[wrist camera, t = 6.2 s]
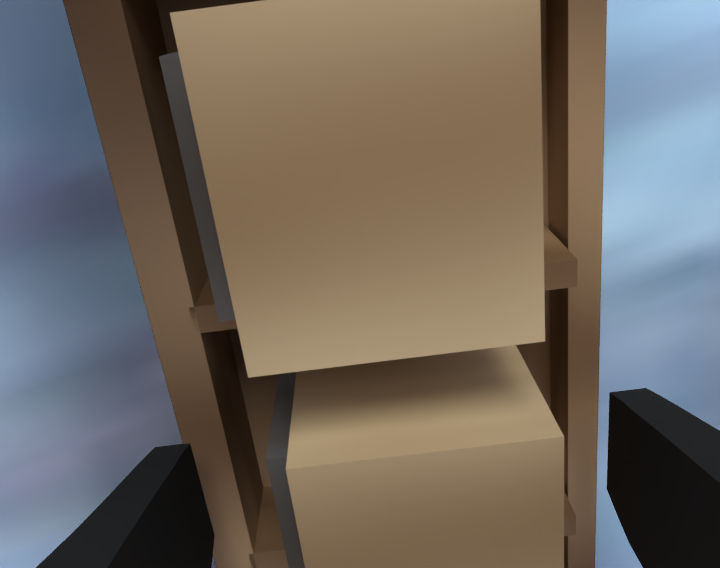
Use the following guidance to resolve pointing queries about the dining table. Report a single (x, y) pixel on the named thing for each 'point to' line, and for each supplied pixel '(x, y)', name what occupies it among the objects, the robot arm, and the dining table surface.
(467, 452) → the tan rectangular block
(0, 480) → the dining table surface
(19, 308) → the dining table surface
